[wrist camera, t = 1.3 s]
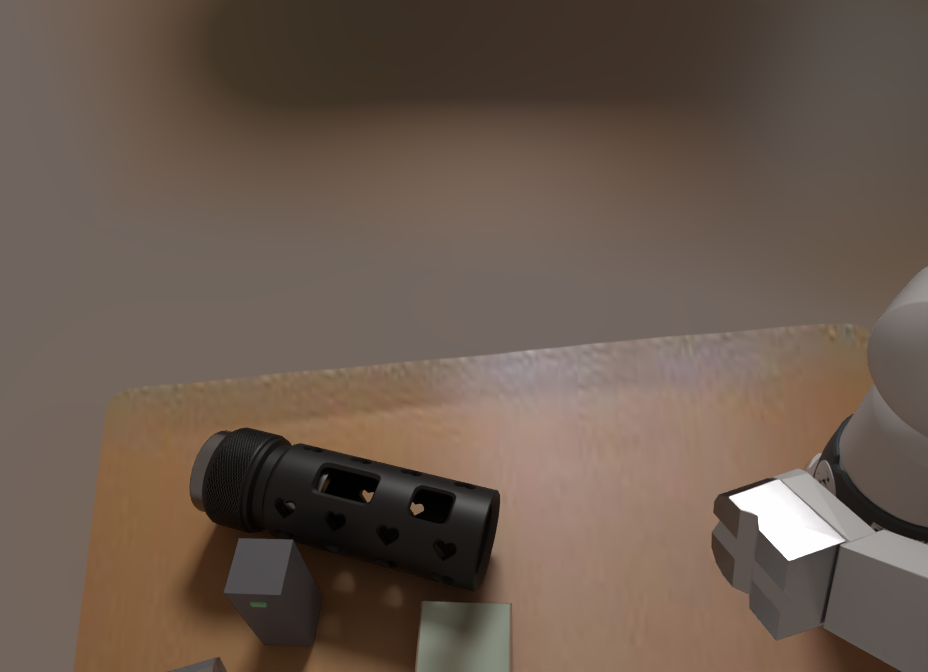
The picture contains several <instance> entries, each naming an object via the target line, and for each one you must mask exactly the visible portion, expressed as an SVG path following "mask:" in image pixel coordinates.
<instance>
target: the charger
mask: <svg viewBox="0 0 928 672" xmlns="http://www.w3.org/2000/svg"><path fill="white" fill-rule="evenodd" d="M224 594H225V596H226V597H227V598H228V599H229V601H230V602H231V603H232V605H233V606H234V607H235V608H236V610H237V611H238V612H239V613H240V615H241V616H242V617H243V619H244V620H245V621H246V622H247V624H248V625H249V626H250V628H251V629H252V630H253V631H254V633H255V634H256V635H257V636H258V638H259V639H260V640H261V642H262V643H263V644H264V645H287V646H313V644H314V639H315V633H316V628H317V623H318V617H319V612H320V606H321V601H322V595H321V593H320V591H319V589H318V587H317V585H316V583H315V581H314V579H313V577H312V575H311V573H310V571H309V570H308V568H307V566H306V564H305V562H304V560H303V558H302V556H301V554H300V552H299V550H298V548H297V546H296V544H295V542H294V540H286V539H250V538H239V540H238V543H237V547H236V550H235V554H234V557H233V561H232V565H231V568H230V572H229V575H228V579H227V582H226V586H225V589H224Z"/></svg>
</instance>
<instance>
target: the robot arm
mask: <svg viewBox="0 0 928 672" xmlns="http://www.w3.org/2000/svg"><path fill="white" fill-rule="evenodd" d="M867 360H868V366H869V370H870V374H871V377H872V379H873V381H874V383H873V385H872V386H871V388H870V389H869V391H868V393H867V394H866V396H865V397H864V399H863V400H862V402H861V403H860V405H859V407H858V408H857V410H856V411H855V413H854V414H852V415H851V416H849V417H848V418H846V419H845V420H844V421H843V422H842V423H841V425H840V426H839V427H838V428H837V430H836V432H835V433H834V435H833V436H832V437H831V439H830V440H829V442H828V443H827V445H826V447H825V448H824V450H823V452H822V453H819V454H817V455H816V456H815V457H814V458H813V459H812V460H811V461H810V462H809V464H808V466H807V468H806V470H805V471H803V470H800V469H796V470H793V471H790V472H787V473H784V474H781V475H777V476H774V477H772V478H767V479H764V480H761V481H758V482H755V483H752V484H749V485H746V486H743V487H740V488H737V489H734V490H731V491H728V492H725V493H722V494H719V495H718V497H717V498H716V500H715V501H714V511H713V513H714V514H715V515H716V516H717V517H718V518H719V520H720V521H719V523H718V524H717V526H716V527H715V528H714V530H713V531H712V546H711V547H712V550H713V554H714V557H715V560H716V563H717V565H718V567H719V569H720V570H721V572H722V574H723V576H724V577H725V578H726V579H727V581H728V582H729V583H730V584H731V586H732V587H734V588H736V589H738V590H740V591H743V592H745V593H747V594H749V606H750V609H751V610H752V612H753V613H754V614H755V615H756V617H757V618H758V619H759V620H760V621H761V623H762V624H763V625H764V626H765V628H766V629H767V630H768V631H769V632H770V634H771V635H772V636H773V637H774V639H775V640H776V641H777V640H780V639H783V638H786V637H789V636H792V635H795V634H798V633H801V632H804V631H807V630H810V629H813V628H816V627H819V626H822V625H824V627H823V628H824V629H826V630H828V631H830V632H831V633H833V634H835V635H837V636H839V637H840V638H842V639H844V640H846V641H848V642H849V643H851V644H853V645H855V646H857V647H858V648H860V649H862V650H864V651H865V652H867V653H869V654H871V655H873V656H874V657H876V658H878V659H880V660H882V661H883V662H885V663H887V664H889V665H890V666H892V667H894V668H896V669H898V670H899V671H901V672H928V266H927V267H926V268H924V269H923V270H922V271H920V272H919V273H918V274H917V275H916V276H915V277H914V278H913V279H912V280H911V281H910V282H909V283H908V285H907V286H906V287H905V288H904V289H903V290H902V291H901V293H900V294H899V295H898V296H897V297H896V298H895V300H894V301H893V302H892V303H891V305H890V306H889V307H888V308H887V310H886V311H885V312H884V314H883V315H882V316H881V318H880V319H879V320H878V322H877V323H876V325H875V326H874V328H873V330H872V332H871V334H870V337H869V340H868V346H867ZM168 672H227V670H226V668H225V666H224V665H223V663H222V661H221V659H220V657H217V658H212V659H209V660H206V661H202V662H199V663H195V664H192V665H189V666H185V667H182V668H179V669H175V670H172V671H168Z"/></svg>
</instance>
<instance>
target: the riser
mask: <svg viewBox="0 0 928 672" xmlns="http://www.w3.org/2000/svg"><path fill="white" fill-rule="evenodd" d="M415 672H512V604H508V603H479V602H449V601H421V609H420V620H419V631H418V642H417V653H416V664H415Z"/></svg>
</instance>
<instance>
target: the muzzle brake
mask: <svg viewBox="0 0 928 672" xmlns="http://www.w3.org/2000/svg"><path fill="white" fill-rule="evenodd" d="M364 490H366V491H367V492H368V493H370V492H374V494H373V497H372V499H371V501H370V502H368V503H367V501H366V500H365V498H364V497H363V495H362V492H363V491H364ZM190 497H191V501H192V503H193V505H194V506H195V507H196V508H197V509H198V510H200V511H203V512H206V514H207V516H208V517H209V518H210V519H211V520H212V521H213V522H214V523H216V524H219V525H223V526H226V527H230V528H234V529H237V530H241V531H244V532H248V533H255V532H261V531H263V530H265V529H266V530H267V531H268V532H269V533H270V534H271V535H272V536H274V537H278V538H282V539H286V540H294V542H297V543H300V544H304V545H308V546H311V547H315V548H319V549H322V550H326V551H329V552H333V553H337V554H340V555H344V556H348V557H351V558H355V559H359V560H362V561H366V562H370V563H373V564H377V565H380V566H384V567H388V568H391V569H395V570H399V571H402V572H406V573H410V574H413V575H417V576H421V577H424V578H428V579H431V580H435V581H439V582H442V583H446V584H450V585H453V586H457V587H461V588H464V589H468V590H471V591H476V590H477V589H478V588H479V587H480V585H481V583H482V580H483V578H484V575H485V572H486V569H487V566H488V562H489V558H490V555H491V551H492V547H493V543H494V538H495V534H496V528H497V523H498V517H499V509H500V494H499V492H498V491H497V490H494V489H489V488H485V487H481V486H477V485H473V484H468V483H464V482H460V481H456V480H452V479H448V478H443V477H439V476H435V475H431V474H427V473H422V472H418V471H414V470H410V469H406V468H402V467H397V466H393V465H389V464H385V463H381V462H377V461H372V460H368V459H364V458H360V457H356V456H351V455H347V454H343V453H339V452H335V451H331V450H326V449H322V448H318V447H314V446H310V445H305V444H301V443H300V444H296V445H293V446H292V445H291V443H290V442H289V441H288V440H286V439H285V438H284V437H283V436H280V435H276V434H272V433H268V432H264V431H259V430H255V429H251V428H241V429H238V430H235V431H233V432H231V431H227V430H225V431H220V432H217V433H215V434H214V435H213V436H211V437H210V438H209V439H208V440H207V441H206V442H205V444H204V445H203V446H202V448H201V450H200V451H199V453H198V455H197V458H196V460H195V462H194V466H193V469H192V473H191V478H190ZM412 502H413V503H414V504H415V505H416V504H422V505H423V506H424V511H423V512H421V513H419V514H417V515H414V514H413V512H412V511H411V509H410V507H411V504H412Z"/></svg>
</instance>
